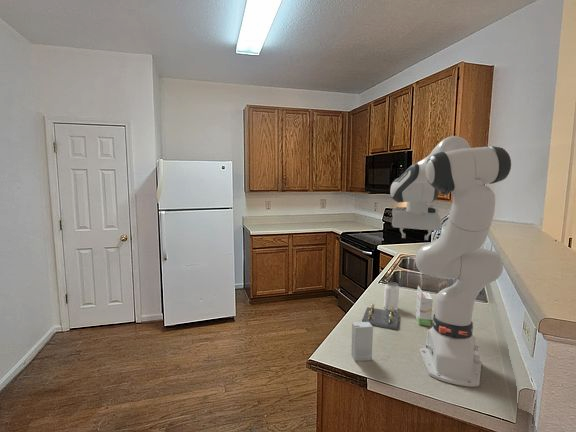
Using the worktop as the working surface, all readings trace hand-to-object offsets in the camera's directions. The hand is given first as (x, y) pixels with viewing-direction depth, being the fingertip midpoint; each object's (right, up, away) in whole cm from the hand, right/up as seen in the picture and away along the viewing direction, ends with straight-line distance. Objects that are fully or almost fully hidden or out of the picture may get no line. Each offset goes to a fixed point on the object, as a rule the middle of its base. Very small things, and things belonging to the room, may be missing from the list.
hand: (414, 238), depth 143 cm
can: (-8, -34, +9) cm, 36 cm away
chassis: (-16, -35, -3) cm, 38 cm away
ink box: (+2, -36, -4) cm, 36 cm away
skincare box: (-32, -38, -34) cm, 60 cm away
